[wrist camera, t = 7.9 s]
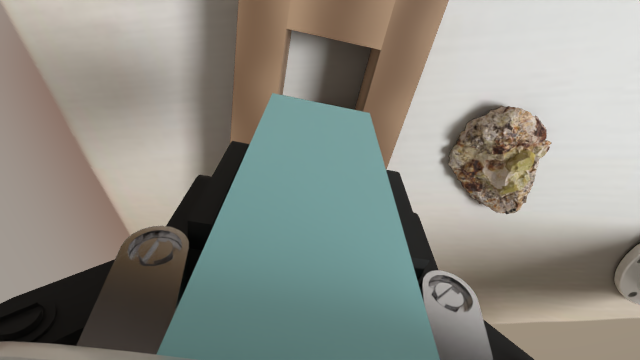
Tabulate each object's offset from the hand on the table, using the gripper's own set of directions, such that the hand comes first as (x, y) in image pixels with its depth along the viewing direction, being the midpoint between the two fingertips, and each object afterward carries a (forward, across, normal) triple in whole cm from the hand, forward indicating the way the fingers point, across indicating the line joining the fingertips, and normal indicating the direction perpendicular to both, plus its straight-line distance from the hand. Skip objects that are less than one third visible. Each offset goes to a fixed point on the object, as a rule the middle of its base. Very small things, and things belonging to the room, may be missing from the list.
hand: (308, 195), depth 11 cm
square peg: (+4, 0, 0) cm, 4 cm away
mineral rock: (+17, -17, +4) cm, 24 cm away
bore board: (+17, 0, +6) cm, 18 cm away
